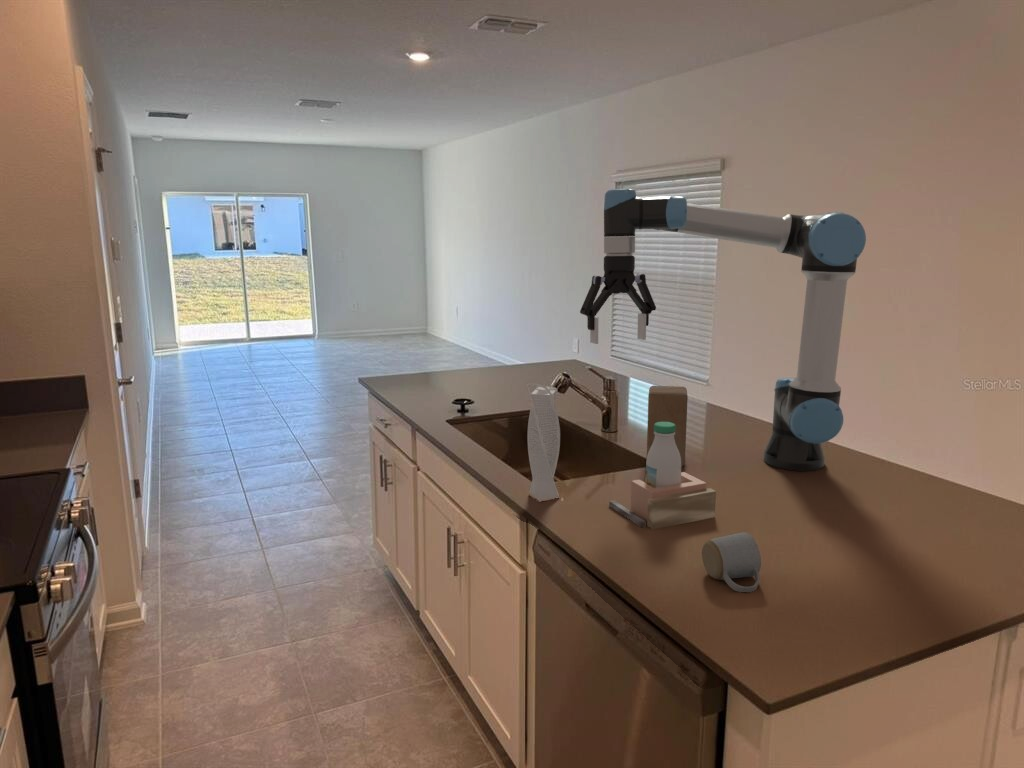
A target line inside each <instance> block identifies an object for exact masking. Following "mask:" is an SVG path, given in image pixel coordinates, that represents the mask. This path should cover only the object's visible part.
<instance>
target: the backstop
mask: <svg viewBox="0 0 1024 768" xmlns="http://www.w3.org/2000/svg"><path fill="white" fill-rule="evenodd" d="M716 496H717V490H715V489H713V488H708V487H707V488H706V489H703V490H697V491H692V492H686V493H681V494H675V495H669V496H664V497H658V498H653V499H648V516H647V521H646V520H644V519H643V518H641V517H640V516H638V515H637V514H635V513H634V512H632V511H631V509H628V508H626V507H625V506H624V505H622V504H621V503H619V502H617V501H615V500H614V499H612V500H609V502H608V503H609V505H608V506H609V507H610V506H611V507H610V508H612V507H613V508H614V509H615V510H614V509H613V508H612V509H613V510H614V511H616V510H617V511H618V512H617V511H616V512H617V513H619V514H620V513H621V514H620V515H621V516H623V515H624V516H623V517H624V518H626V517H627V518H626V519H627V520H629V519H630V520H629V521H631V520H632V521H633V522H632V521H631V522H632V523H634V524H635V523H636V524H635V525H637V526H638V525H639V526H640V527H639V526H638V527H639V528H645V527H648V528H649V527H650V528H649V529H651V530H652V529H653V530H658V529H662V527H663V528H668V527H672V526H678V525H682V524H683V525H684V524H688V523H692V522H697V521H702V520H707V519H713V518H715V517H716V498H717V497H716ZM646 523H647V524H646ZM644 526H645V527H644ZM657 528H658V529H657Z"/></svg>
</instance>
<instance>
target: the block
mask: <svg viewBox="0 0 1024 768" xmlns="http://www.w3.org/2000/svg"><path fill="white" fill-rule="evenodd" d="M647 396H648V397H647V398H648V402H647V435H646V441H647V442H646V456H647V455H648V452H649V450H650V448H651V446H652V444H653V441H654V438H655V434H654V424H655V423H657V422H671V423H674V424H675V435H674V440H675V444H676V446H677V449H678V451H679V453H680V457H681V467H684V465H686V447H687V445H686V444H687V443H686V442H687V423H688V422H687V420H688V400H689V399H688V398H689V397H688V390H687V388H686V387H685V386H680V385H679V386H678V385H677V386H676V385H675V386H674V385H673V386H672V385H670V386H669V385H651V386H649V389H648V395H647Z"/></svg>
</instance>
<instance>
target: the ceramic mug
mask: <svg viewBox="0 0 1024 768" xmlns="http://www.w3.org/2000/svg"><path fill="white" fill-rule="evenodd" d="M701 557H702V558H701V559H702V562H703V566H704V568H705V570H706V572H707V574H708V576H710V577H711V578H713V579H714V580H720V581H722V580H724V581H725V583H726V584H727V585H728V587H730V588H731V590H733V591H736V592H737V591H738V593H741V592H750V593H752V591H753V592H754V590H755V591H756V590H757V588H758V586H759V584H760V574H759V573H760V570H761V568H762V557H761V552H760V549H759V546H758V544H757V542H756V540H755V539H754V537H753V536H752V535H751V534H750V533H748V532H746V531H742V532H738V533H734V534H728V535H724V536H720V537H719V536H718V537H714V538H712V539H711V538H710V539H708V540H707V541H705V542H704V544H703V546H702V551H701ZM750 577H753V578H754V579H755V582H754V584H753V585H751V586H743V585H740V584H738V583H736V582H734V581H733V580H732V579H740V578H750Z"/></svg>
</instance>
